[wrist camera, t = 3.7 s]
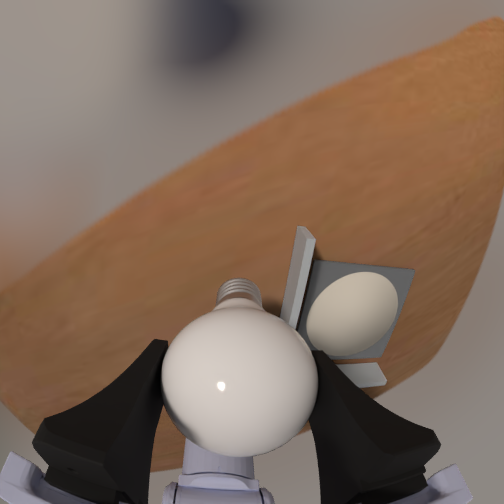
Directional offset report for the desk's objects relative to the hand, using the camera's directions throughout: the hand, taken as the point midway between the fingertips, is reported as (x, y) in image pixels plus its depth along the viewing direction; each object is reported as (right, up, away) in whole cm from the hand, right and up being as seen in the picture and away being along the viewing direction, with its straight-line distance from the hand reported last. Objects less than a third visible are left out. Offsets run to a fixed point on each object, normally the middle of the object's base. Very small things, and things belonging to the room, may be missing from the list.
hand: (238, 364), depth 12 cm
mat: (+10, -1, +12) cm, 15 cm away
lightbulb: (0, +3, +6) cm, 7 cm away
